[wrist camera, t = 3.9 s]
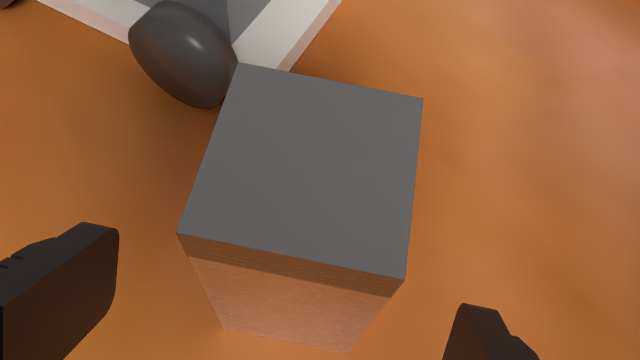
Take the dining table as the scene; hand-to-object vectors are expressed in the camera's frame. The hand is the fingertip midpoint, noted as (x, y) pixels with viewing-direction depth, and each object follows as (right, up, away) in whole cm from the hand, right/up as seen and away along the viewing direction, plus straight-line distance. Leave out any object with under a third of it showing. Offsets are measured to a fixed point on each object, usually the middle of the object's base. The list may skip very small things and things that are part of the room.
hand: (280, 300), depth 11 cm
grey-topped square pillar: (0, -1, +9) cm, 9 cm away
